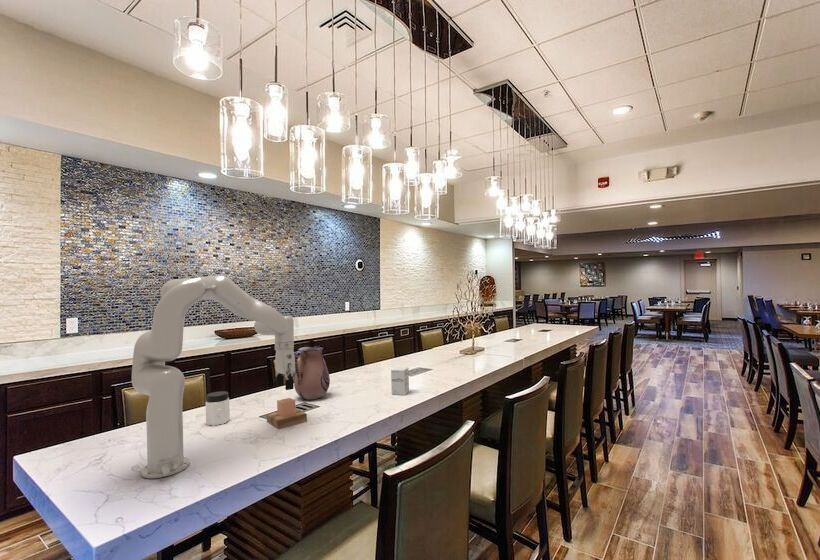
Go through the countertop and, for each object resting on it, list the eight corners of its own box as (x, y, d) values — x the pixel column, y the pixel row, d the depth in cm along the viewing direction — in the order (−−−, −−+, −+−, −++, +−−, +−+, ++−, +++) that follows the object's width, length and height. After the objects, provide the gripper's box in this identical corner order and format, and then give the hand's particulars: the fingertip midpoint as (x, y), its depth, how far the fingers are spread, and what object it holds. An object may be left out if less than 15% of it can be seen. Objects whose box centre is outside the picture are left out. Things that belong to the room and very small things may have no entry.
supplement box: (391, 394, 195) (390, 369, 195) (396, 391, 202) (395, 366, 202) (405, 395, 192) (404, 370, 193) (409, 391, 200) (408, 367, 200)
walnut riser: (307, 421, 160) (306, 413, 160) (278, 428, 152) (278, 420, 152) (294, 414, 169) (294, 407, 169) (267, 421, 161) (266, 414, 161)
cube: (295, 413, 160) (295, 400, 160) (282, 416, 156) (282, 403, 156) (290, 410, 164) (289, 397, 164) (277, 413, 161) (277, 400, 161)
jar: (207, 427, 157) (206, 397, 157) (205, 422, 163) (204, 393, 164) (231, 422, 161) (230, 393, 162) (228, 417, 168) (227, 390, 169)
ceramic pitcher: (336, 393, 202) (334, 345, 203) (315, 405, 182) (314, 351, 182) (306, 392, 207) (304, 345, 207) (283, 403, 186) (281, 351, 187)
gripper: (302, 346, 157) (302, 389, 156) (284, 343, 170) (284, 383, 169) (284, 348, 152) (284, 392, 151) (267, 345, 165) (267, 386, 164)
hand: (284, 387), depth 160 cm, fingers open, 9 cm apart
